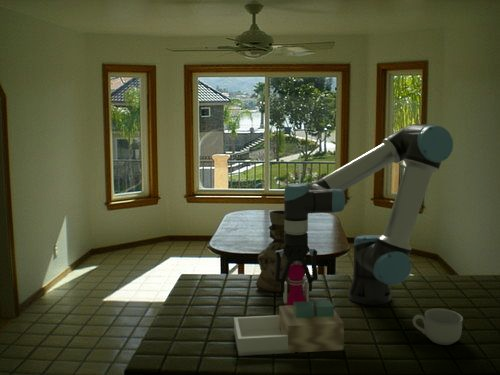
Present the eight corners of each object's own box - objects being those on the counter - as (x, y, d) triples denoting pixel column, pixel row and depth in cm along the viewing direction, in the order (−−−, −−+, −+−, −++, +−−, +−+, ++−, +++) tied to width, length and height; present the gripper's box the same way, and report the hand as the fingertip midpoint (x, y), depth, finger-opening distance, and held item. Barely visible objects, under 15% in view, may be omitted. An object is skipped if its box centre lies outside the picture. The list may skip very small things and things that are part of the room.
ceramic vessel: (241, 288, 211) (240, 211, 207) (283, 277, 224) (283, 205, 220) (273, 301, 196) (272, 219, 192) (316, 289, 209) (316, 212, 205)
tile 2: (329, 309, 165) (329, 300, 165) (333, 316, 160) (333, 306, 160) (313, 310, 165) (313, 301, 164) (316, 316, 160) (316, 307, 159)
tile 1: (309, 310, 165) (309, 301, 164) (313, 317, 160) (313, 307, 159) (293, 311, 164) (293, 302, 164) (296, 318, 159) (296, 308, 159)
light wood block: (329, 327, 172) (329, 303, 171) (343, 349, 156) (343, 323, 155) (279, 330, 170) (279, 305, 169) (288, 353, 154) (287, 325, 153)
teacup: (461, 336, 165) (462, 310, 164) (462, 351, 155) (463, 323, 154) (413, 330, 169) (413, 305, 168) (411, 344, 159) (412, 318, 158)
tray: (279, 330, 170) (279, 315, 170) (288, 353, 154) (287, 336, 154) (234, 332, 169) (233, 317, 168) (238, 355, 153) (238, 338, 152)
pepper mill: (305, 323, 176) (306, 263, 173) (283, 322, 177) (283, 262, 174) (308, 315, 183) (308, 257, 180) (286, 314, 184) (286, 256, 181)
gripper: (323, 228, 180) (322, 296, 184) (264, 230, 178) (265, 298, 182) (328, 233, 173) (327, 303, 176) (267, 235, 171) (268, 306, 174)
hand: (296, 301), depth 179 cm, fingers closed on pepper mill, 6 cm apart
